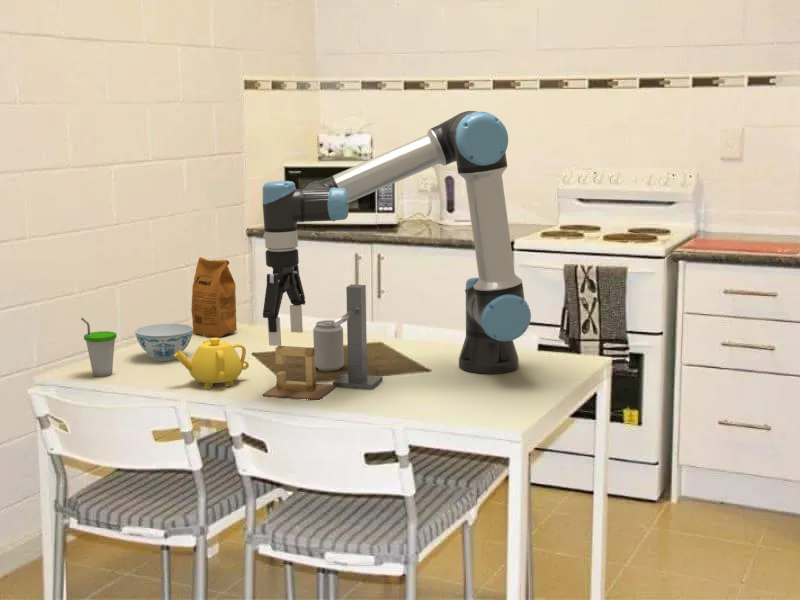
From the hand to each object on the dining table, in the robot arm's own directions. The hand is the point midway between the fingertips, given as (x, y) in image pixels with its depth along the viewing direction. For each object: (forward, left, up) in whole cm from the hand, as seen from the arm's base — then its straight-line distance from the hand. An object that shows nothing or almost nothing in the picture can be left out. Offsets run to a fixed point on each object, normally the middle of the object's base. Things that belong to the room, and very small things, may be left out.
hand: (286, 338), depth 270 cm
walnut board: (-3, 0, -13) cm, 13 cm away
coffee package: (+44, -53, -13) cm, 70 cm away
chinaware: (+44, -23, -13) cm, 51 cm away
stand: (-14, -4, -13) cm, 19 cm away
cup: (+51, -3, -13) cm, 53 cm away
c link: (-2, 0, -12) cm, 12 cm away
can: (-2, -23, -13) cm, 26 cm away
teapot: (+21, -3, -13) cm, 25 cm away
